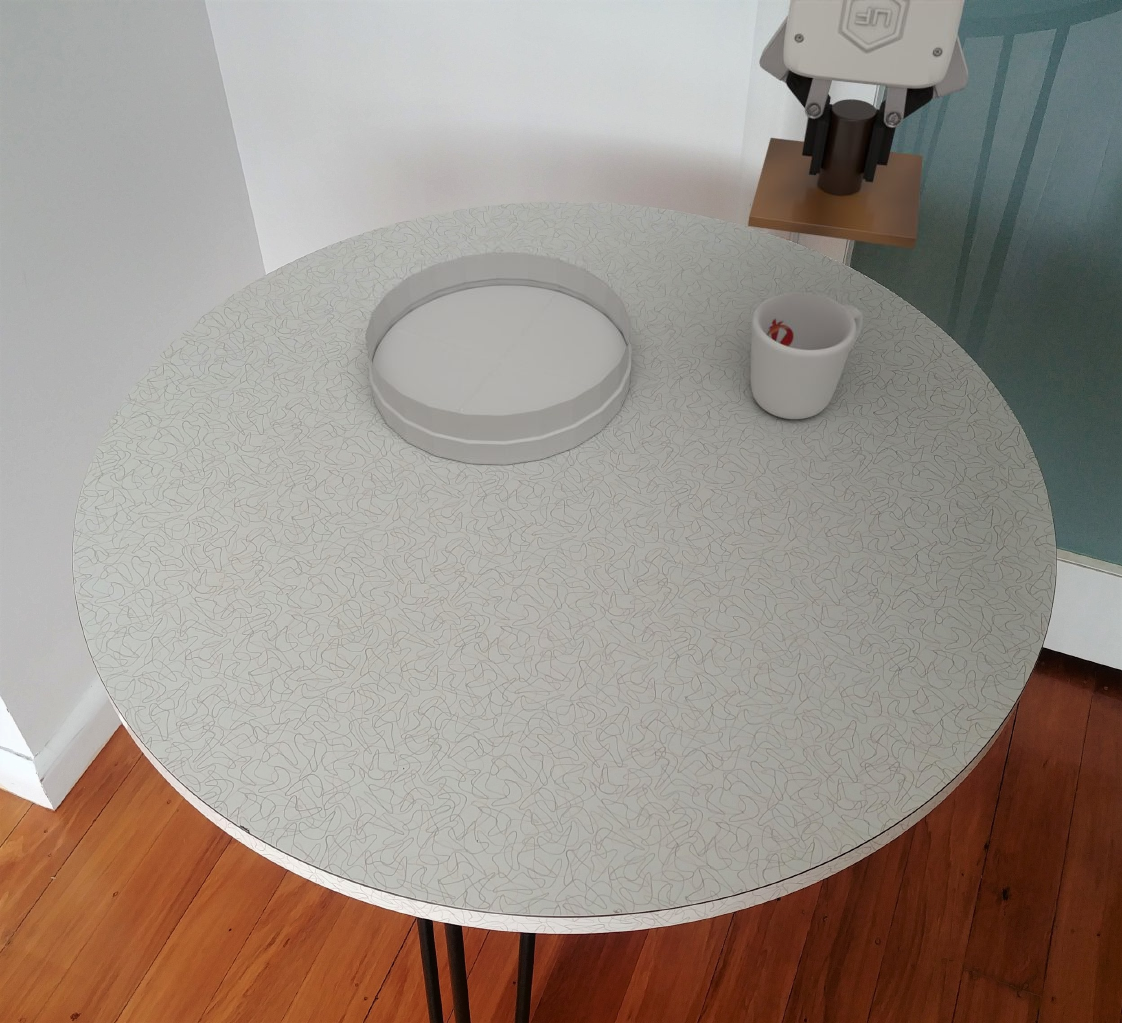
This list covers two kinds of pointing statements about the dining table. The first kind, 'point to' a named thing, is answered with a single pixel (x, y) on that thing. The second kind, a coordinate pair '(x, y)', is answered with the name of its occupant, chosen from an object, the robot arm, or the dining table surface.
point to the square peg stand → (840, 186)
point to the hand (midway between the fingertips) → (842, 166)
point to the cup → (800, 351)
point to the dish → (499, 357)
